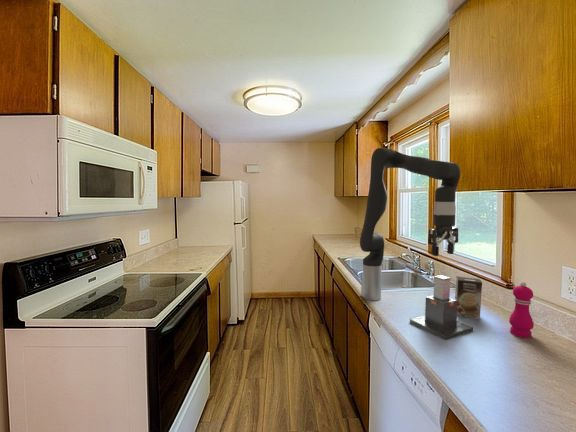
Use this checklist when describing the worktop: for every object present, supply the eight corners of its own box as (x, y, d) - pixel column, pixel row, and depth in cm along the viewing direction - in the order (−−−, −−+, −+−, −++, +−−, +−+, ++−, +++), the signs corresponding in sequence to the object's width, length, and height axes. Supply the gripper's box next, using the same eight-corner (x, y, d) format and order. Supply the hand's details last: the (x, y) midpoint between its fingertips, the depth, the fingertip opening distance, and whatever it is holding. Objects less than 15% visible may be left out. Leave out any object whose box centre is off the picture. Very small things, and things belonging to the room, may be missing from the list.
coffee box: (455, 315, 126) (457, 279, 125) (454, 310, 132) (455, 276, 131) (480, 319, 122) (482, 282, 121) (478, 314, 128) (479, 278, 127)
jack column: (432, 320, 116) (433, 276, 115) (439, 318, 118) (441, 275, 117) (441, 324, 112) (443, 279, 111) (449, 322, 114) (450, 277, 113)
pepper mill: (537, 339, 105) (540, 285, 104) (515, 337, 106) (518, 284, 105) (525, 330, 112) (528, 280, 111) (504, 328, 113) (507, 278, 112)
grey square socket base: (409, 322, 119) (410, 295, 118) (436, 315, 126) (437, 289, 125) (445, 339, 105) (446, 308, 104) (473, 331, 111) (474, 302, 111)
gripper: (447, 212, 119) (446, 251, 120) (423, 213, 113) (422, 254, 114) (465, 213, 112) (463, 255, 113) (440, 214, 106) (439, 258, 107)
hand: (442, 254), depth 113 cm, fingers open, 8 cm apart
